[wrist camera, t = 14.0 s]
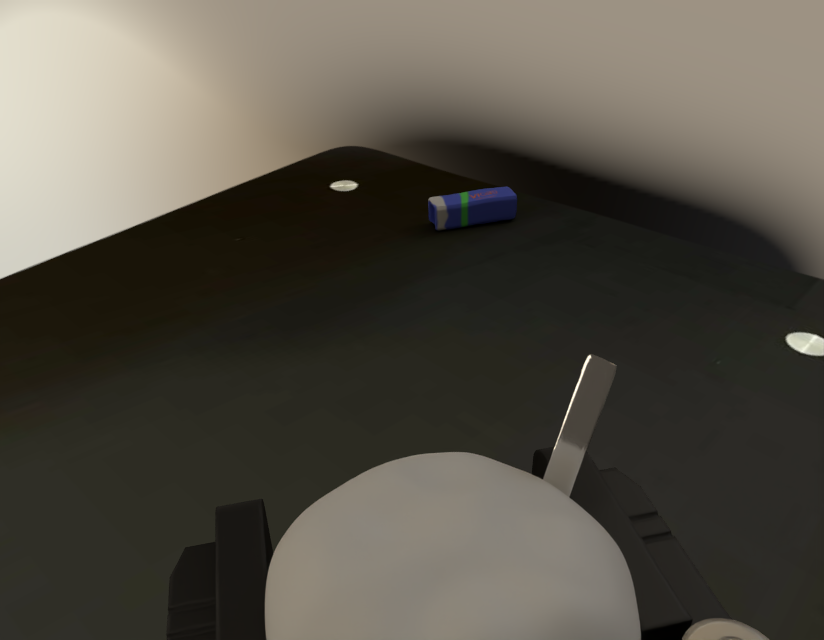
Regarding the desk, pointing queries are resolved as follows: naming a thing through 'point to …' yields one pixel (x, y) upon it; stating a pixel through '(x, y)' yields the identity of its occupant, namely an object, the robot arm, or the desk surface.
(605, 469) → the robot arm
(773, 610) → the desk surface
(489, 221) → the eraser
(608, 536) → the milkshake
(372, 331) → the desk surface
